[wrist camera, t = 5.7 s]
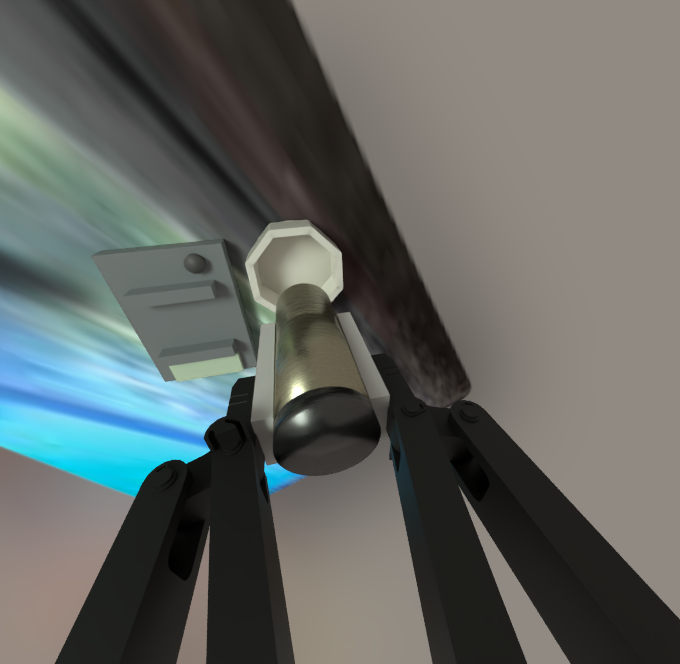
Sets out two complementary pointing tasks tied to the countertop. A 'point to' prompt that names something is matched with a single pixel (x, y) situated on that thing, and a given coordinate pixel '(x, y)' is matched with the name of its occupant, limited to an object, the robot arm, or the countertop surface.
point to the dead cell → (317, 389)
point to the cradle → (182, 306)
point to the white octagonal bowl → (293, 261)
